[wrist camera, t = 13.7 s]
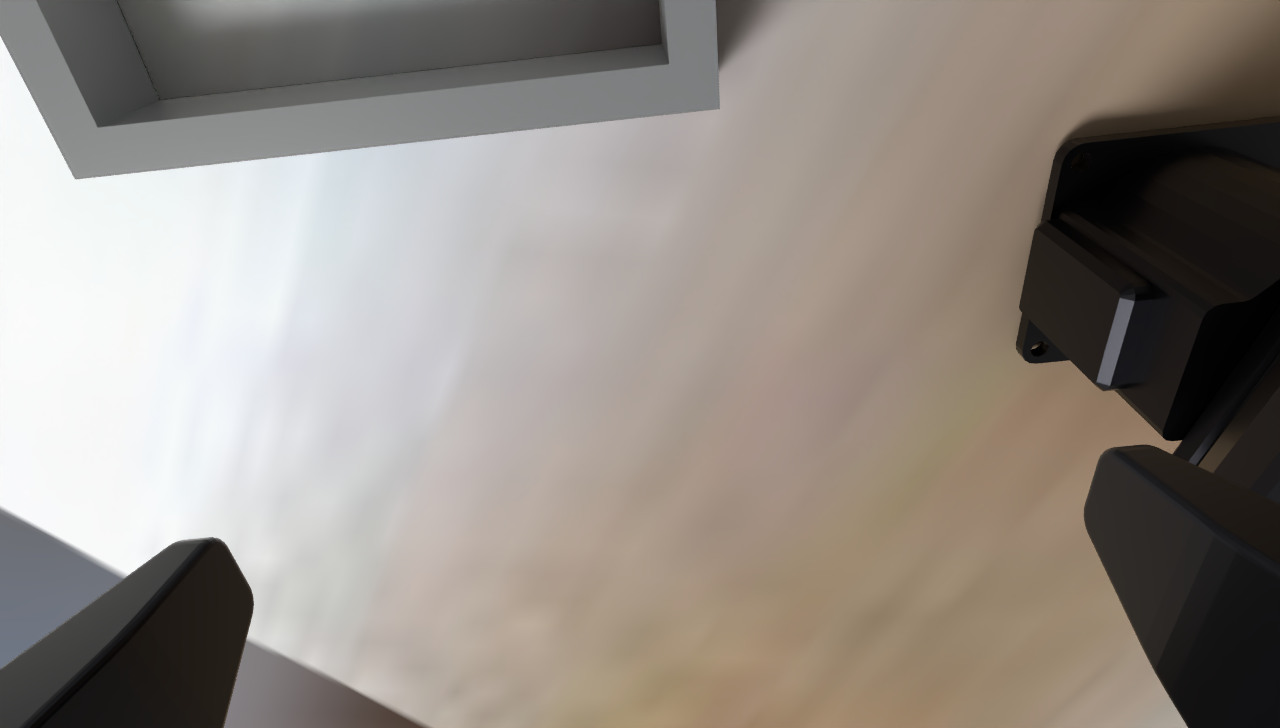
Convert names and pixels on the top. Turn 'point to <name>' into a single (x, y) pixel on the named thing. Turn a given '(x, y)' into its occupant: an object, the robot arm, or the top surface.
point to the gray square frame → (332, 94)
